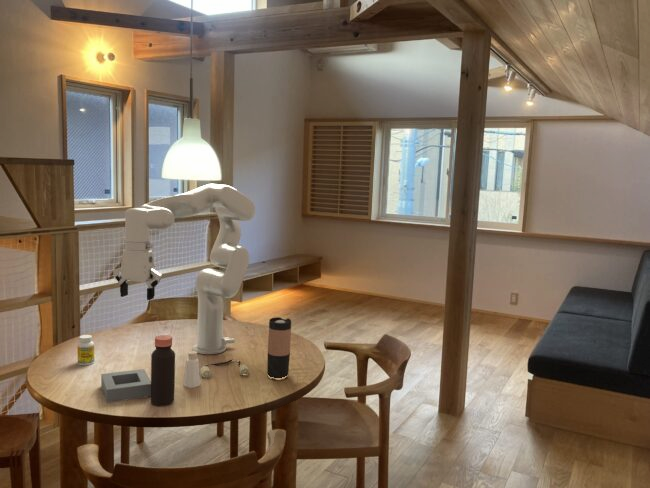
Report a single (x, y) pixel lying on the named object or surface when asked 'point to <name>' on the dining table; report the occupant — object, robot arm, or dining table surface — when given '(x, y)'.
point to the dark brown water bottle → (162, 371)
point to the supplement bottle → (85, 350)
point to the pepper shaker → (192, 371)
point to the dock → (125, 385)
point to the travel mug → (278, 347)
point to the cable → (206, 372)
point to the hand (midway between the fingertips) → (137, 297)
